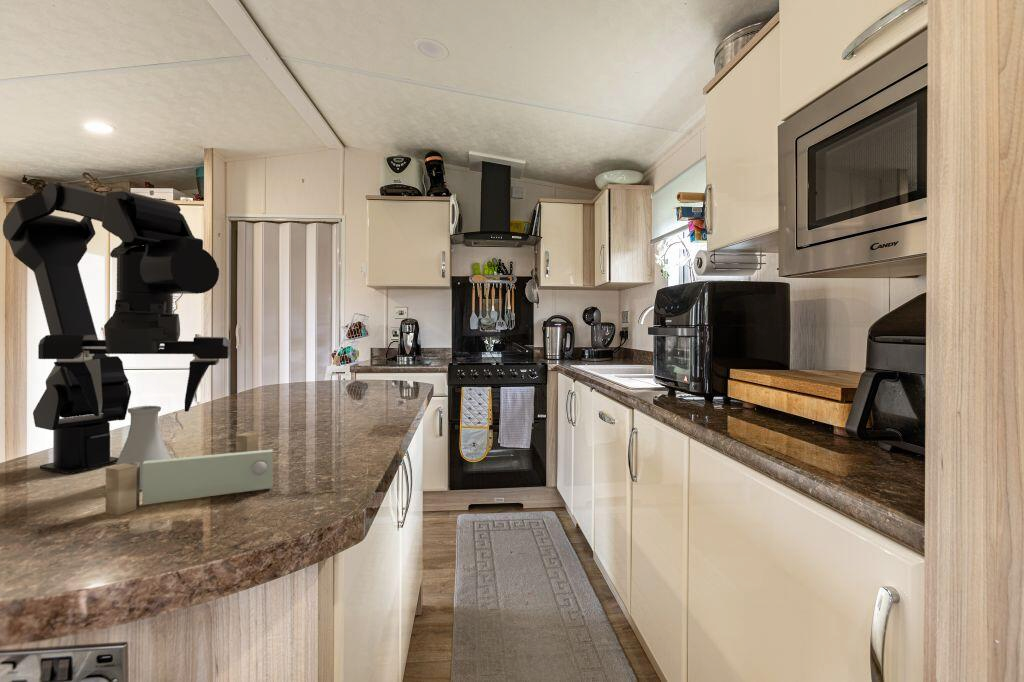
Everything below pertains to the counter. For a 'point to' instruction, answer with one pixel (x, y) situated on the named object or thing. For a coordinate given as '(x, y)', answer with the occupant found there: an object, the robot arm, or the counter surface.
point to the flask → (143, 438)
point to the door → (206, 475)
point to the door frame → (127, 479)
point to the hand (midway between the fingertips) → (144, 413)
